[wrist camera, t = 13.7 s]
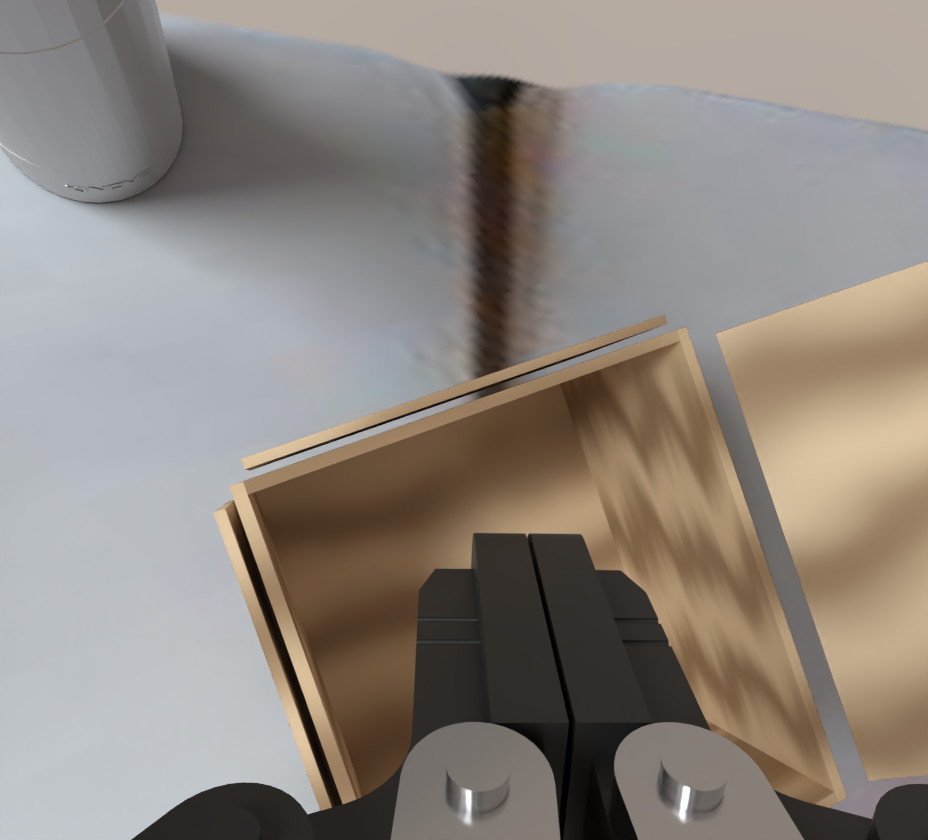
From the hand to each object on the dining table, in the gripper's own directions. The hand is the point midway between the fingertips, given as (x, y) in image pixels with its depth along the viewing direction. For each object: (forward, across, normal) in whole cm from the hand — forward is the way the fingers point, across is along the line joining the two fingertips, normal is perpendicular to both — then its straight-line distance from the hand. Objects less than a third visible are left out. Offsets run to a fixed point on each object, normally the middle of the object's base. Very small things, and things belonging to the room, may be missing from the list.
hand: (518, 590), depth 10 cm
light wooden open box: (+27, -1, +19) cm, 33 cm away
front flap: (+17, -19, +8) cm, 26 cm away
